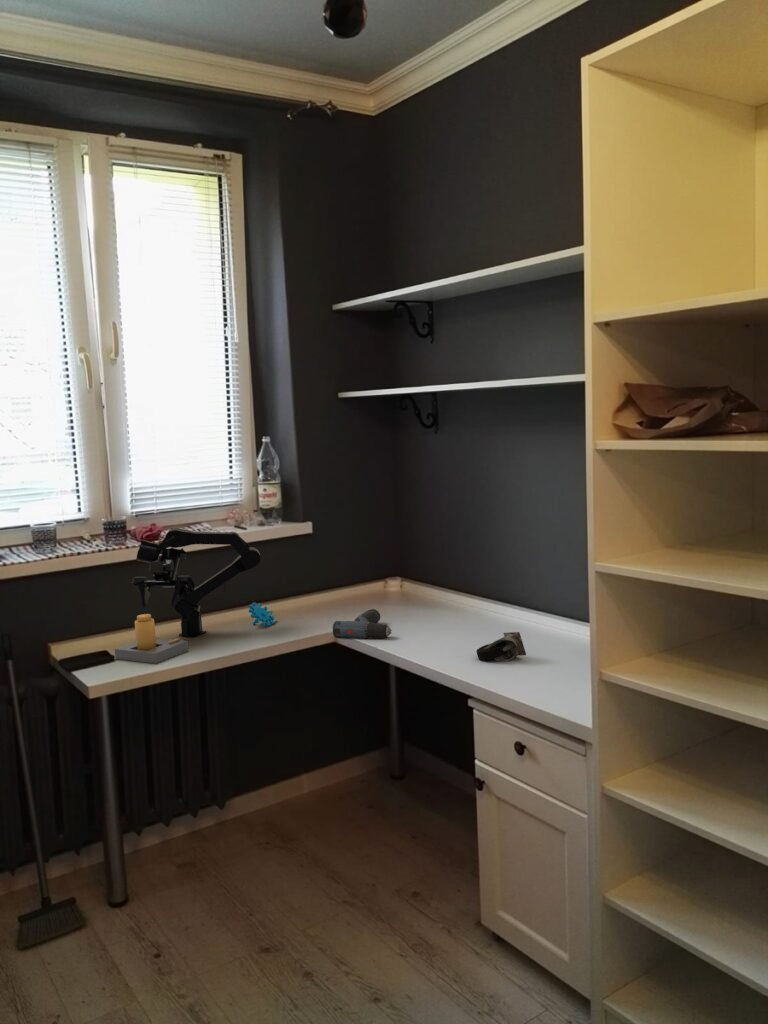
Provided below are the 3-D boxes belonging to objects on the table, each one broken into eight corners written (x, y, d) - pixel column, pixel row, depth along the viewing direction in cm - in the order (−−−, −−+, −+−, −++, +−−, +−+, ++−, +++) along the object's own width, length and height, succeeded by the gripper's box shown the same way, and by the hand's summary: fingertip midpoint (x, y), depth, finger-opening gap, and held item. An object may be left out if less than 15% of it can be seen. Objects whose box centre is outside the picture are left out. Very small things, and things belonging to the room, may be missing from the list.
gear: (261, 625, 283) (245, 602, 287) (251, 637, 286) (235, 613, 290) (282, 622, 293) (267, 599, 296) (273, 633, 295) (257, 611, 299)
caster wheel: (475, 667, 239) (500, 654, 245) (501, 668, 230) (528, 654, 235) (467, 644, 239) (493, 632, 244) (494, 644, 230) (520, 631, 235)
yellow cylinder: (147, 653, 263) (143, 612, 262) (161, 654, 261) (157, 614, 259) (133, 658, 259) (130, 617, 257) (147, 659, 256) (144, 618, 254)
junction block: (148, 646, 271) (147, 634, 271) (188, 650, 264) (187, 638, 263) (115, 658, 259) (114, 646, 259) (155, 663, 251) (154, 650, 251)
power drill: (411, 625, 280) (388, 642, 262) (358, 623, 288) (332, 639, 269) (410, 609, 280) (387, 625, 261) (357, 607, 287) (331, 622, 269)
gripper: (131, 551, 273) (119, 593, 263) (188, 550, 270) (178, 592, 261) (144, 571, 281) (132, 613, 272) (199, 570, 279) (189, 612, 269)
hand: (157, 607), depth 268 cm, fingers open, 9 cm apart
